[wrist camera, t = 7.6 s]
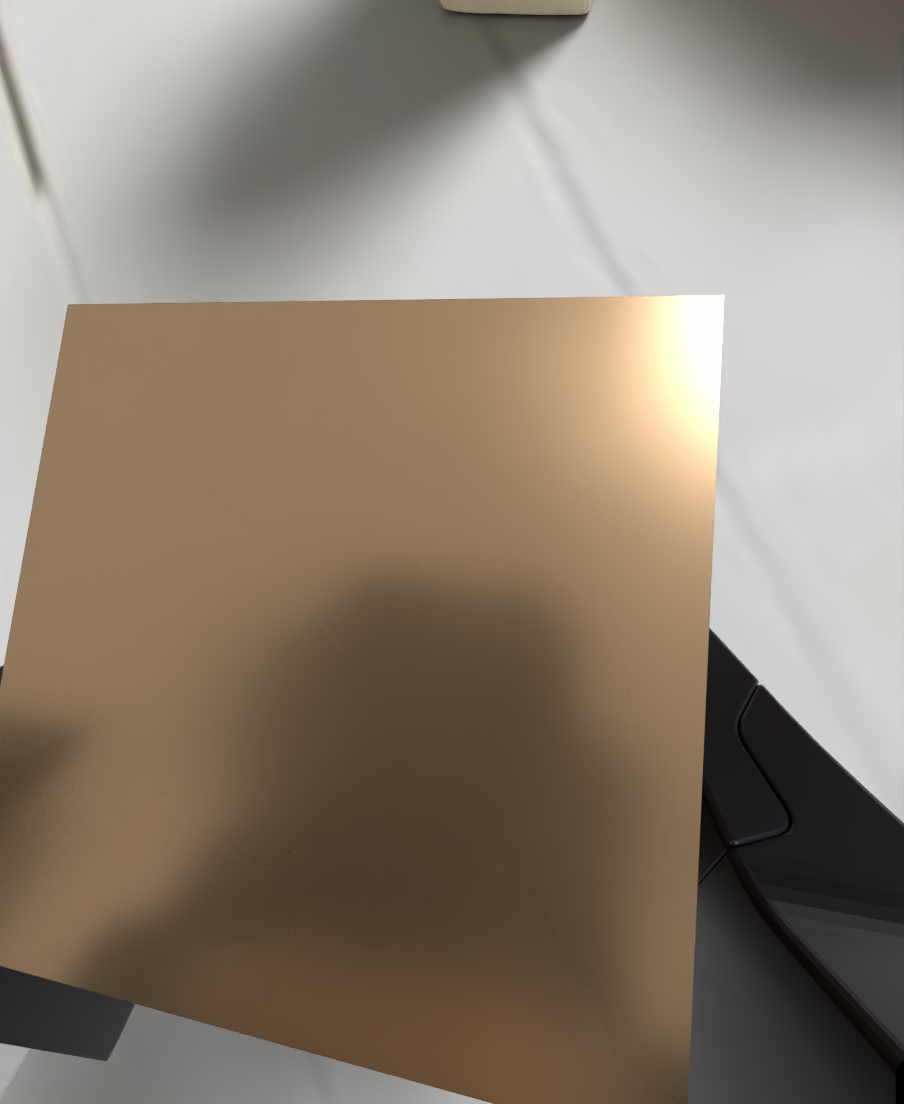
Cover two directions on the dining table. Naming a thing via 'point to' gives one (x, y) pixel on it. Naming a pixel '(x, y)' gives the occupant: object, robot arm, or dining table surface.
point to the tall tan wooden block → (374, 681)
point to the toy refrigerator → (519, 6)
